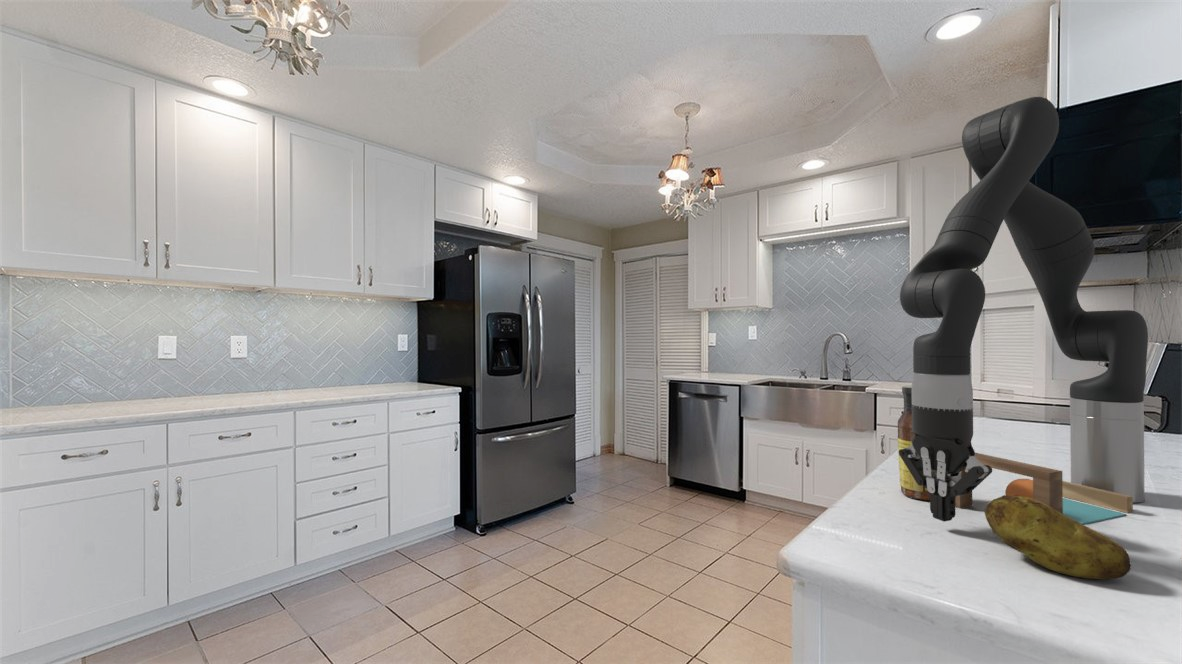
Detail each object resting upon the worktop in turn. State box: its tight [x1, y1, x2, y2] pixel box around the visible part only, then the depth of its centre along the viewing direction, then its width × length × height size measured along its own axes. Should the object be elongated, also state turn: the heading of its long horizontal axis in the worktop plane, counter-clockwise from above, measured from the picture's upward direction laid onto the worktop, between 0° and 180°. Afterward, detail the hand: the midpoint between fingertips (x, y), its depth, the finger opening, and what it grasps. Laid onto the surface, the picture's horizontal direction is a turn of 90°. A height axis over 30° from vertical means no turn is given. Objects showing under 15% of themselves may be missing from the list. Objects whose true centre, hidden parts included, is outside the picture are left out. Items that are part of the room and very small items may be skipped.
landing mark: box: [992, 497, 1127, 525], centre depth 83 cm, size 12×12×1 cm
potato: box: [984, 494, 1132, 580], centre depth 62 cm, size 8×13×8 cm, turn 27°
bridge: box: [955, 452, 1064, 514], centre depth 78 cm, size 3×14×9 cm, turn 19°
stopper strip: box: [1062, 480, 1134, 514], centre depth 86 cm, size 2×11×2 cm, turn 19°
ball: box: [1004, 478, 1033, 499], centre depth 80 cm, size 6×6×6 cm
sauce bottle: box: [897, 384, 930, 501], centre depth 89 cm, size 6×6×20 cm
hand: (942, 519), depth 74 cm, fingers closed
